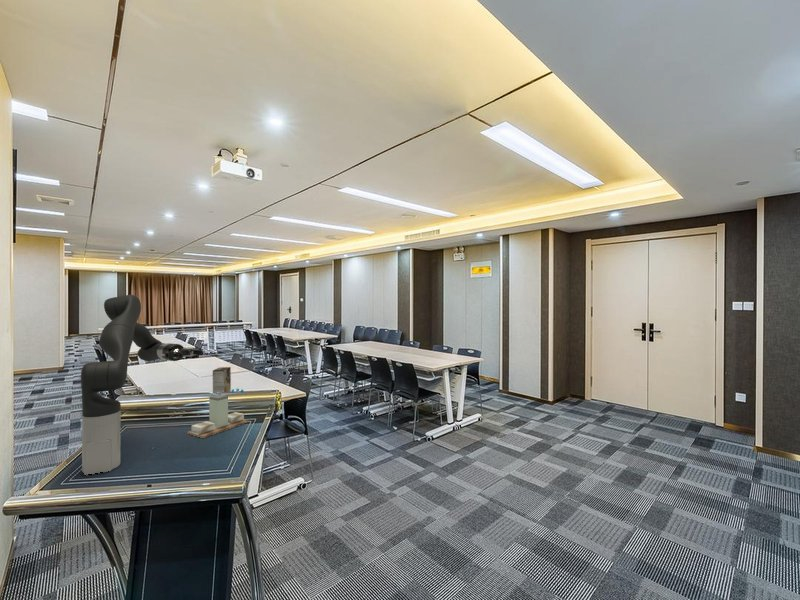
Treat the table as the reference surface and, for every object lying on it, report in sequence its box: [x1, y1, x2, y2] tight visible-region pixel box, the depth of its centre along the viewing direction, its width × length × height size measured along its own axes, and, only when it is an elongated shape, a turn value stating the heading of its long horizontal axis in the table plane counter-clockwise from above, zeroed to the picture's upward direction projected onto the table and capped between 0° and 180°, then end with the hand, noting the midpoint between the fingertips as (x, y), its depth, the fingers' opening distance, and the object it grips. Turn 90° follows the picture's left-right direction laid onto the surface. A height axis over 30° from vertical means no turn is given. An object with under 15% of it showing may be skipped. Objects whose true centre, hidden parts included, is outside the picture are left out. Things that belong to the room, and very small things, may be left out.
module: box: [208, 394, 229, 428], centre depth 146 cm, size 4×6×12 cm
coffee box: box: [212, 366, 232, 394], centre depth 194 cm, size 9×6×16 cm
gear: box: [231, 387, 245, 393], centre depth 182 cm, size 11×6×10 cm
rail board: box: [187, 411, 249, 439], centre depth 146 cm, size 20×10×4 cm, turn 152°
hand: (192, 354), depth 151 cm, fingers open, 8 cm apart
